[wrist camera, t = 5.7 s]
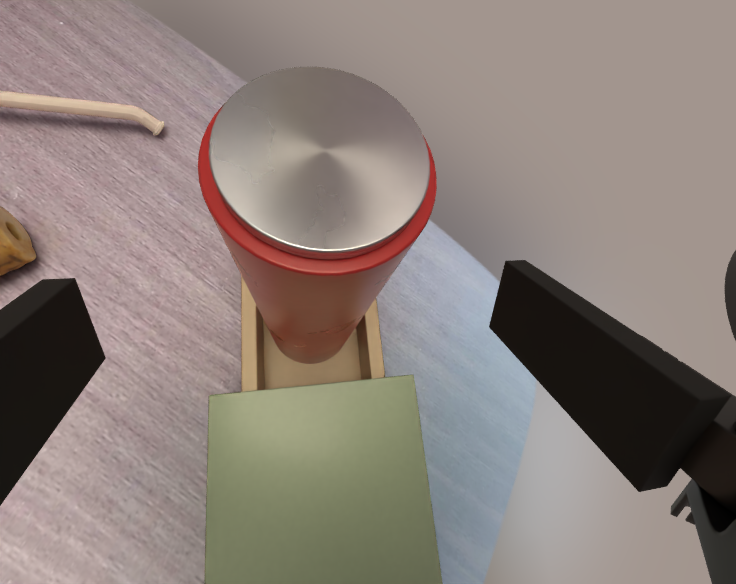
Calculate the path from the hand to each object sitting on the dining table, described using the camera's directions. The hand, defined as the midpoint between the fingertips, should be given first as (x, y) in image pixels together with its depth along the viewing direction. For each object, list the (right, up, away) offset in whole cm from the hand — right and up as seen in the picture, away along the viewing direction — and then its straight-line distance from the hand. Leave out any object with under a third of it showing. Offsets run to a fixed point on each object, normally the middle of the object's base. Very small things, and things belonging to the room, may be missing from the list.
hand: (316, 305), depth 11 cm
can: (-2, -2, +12) cm, 12 cm away
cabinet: (-1, -12, +11) cm, 16 cm away
